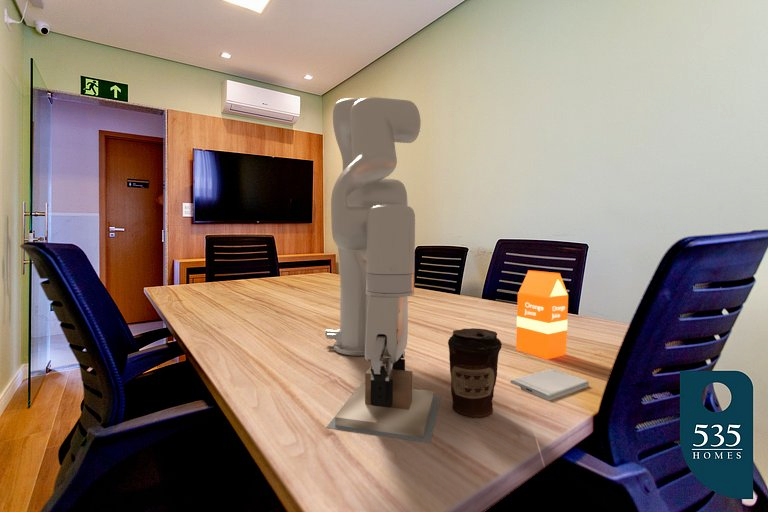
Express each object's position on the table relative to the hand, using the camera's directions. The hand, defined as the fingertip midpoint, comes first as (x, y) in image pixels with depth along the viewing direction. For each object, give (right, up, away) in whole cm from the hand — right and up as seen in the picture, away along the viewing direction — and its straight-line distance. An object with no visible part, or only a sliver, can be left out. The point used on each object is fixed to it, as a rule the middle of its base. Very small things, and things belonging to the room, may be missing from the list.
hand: (388, 392), depth 58 cm
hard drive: (+31, -4, +12) cm, 33 cm away
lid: (0, -3, 0) cm, 3 cm away
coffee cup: (+14, -4, +1) cm, 14 cm away
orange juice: (+38, -2, +33) cm, 50 cm away
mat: (0, -3, 0) cm, 3 cm away
